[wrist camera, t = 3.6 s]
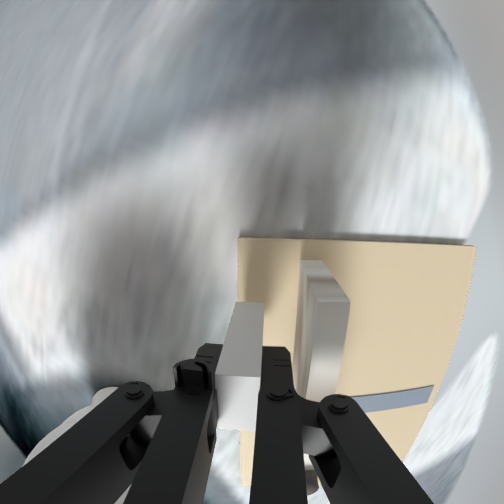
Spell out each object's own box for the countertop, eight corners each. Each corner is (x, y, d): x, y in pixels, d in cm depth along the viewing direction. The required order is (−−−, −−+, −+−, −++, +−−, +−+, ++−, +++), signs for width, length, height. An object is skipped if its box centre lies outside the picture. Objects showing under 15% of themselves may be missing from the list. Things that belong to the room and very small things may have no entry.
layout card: (238, 237, 16) (237, 238, 16) (473, 245, 15) (477, 246, 15) (241, 482, 21) (241, 486, 21) (394, 471, 21) (395, 474, 20)
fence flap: (294, 259, 16) (312, 311, 9) (327, 260, 15) (365, 310, 9) (282, 420, 18) (283, 497, 11) (306, 420, 18) (315, 495, 11)
